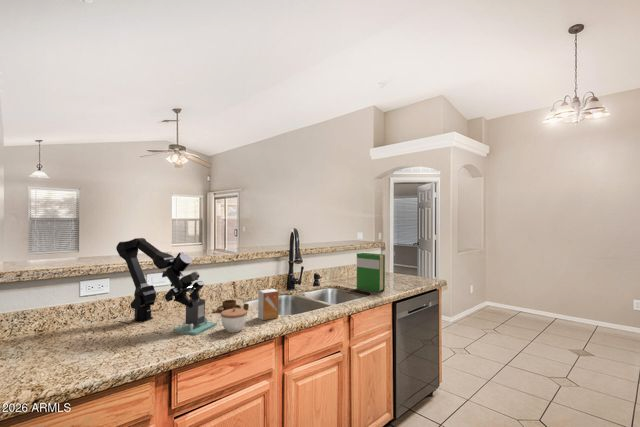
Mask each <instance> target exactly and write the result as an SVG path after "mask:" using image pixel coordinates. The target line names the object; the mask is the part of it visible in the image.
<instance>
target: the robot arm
mask: <svg viewBox="0 0 640 427" xmlns="http://www.w3.org/2000/svg"><path fill="white" fill-rule="evenodd" d="M115 248H116V251H117V254H118V255H119V257H120V258H121V259H123V260H124V261H125V263H126V266H127V268H128V270H129V273H130V276H131V279H132V281H133V285H134V287H135V290H134V293H133V296H134V299H133V300H132V301H131V303H130V304H129V306H130V308H131V309H133V310H134V317H133V319H131V322H138V323H144V322H147V321H149V320H152V319H154V317H153V316H152V309H151V306H154V305H155V301H156V299H157V294H156V293H157V291H156V289H155V286H154V285H152V284H151V285H150V284H148V282H147V280H146V277H145V275H144V272H143V269H142V267H141V264H140V261H139V259H138V254H139V251H141V252H142V253H143V254H145V255H146V256H147V257H149V258H150V259H151V260H152V263H153V264H154V266H155V267H156V268H157V269H158V270H163V271H162V275H161V278H166V277H167V279H168V280H169V282H170V283H171V284H170V287H172V288H170V289H169V290H168V291H167V292H166V294H165V295H164V299H165V300H166V302H171V301H173V302H177V303H179V304H182V305H184V306H185V307H186V306H188V307H190V308H192V307H193V306H192V304H191V302H190V299H193V298H198V299H201V298H200V293H199V292H200V290H201V289H202V288H203V287H204V286H205V285H206V284H205V283H204V282H203V280H199V278H200V274H199V272H198V271H196V270H195V271H192V272H191V273H189V274H184V275H183V272H184V271H185V270H186V269H187V268H188V267H189V266H190V264H191V263H192V262H193V259H192V257H191V256H189V255H188V254H185V253H184V252H179V253H178V254H177V255H176V256H175V257H174V256H173V255H172V254H170V253H168V252H163V251H161V250H160V249H158V248H157V247H155V246H154V245H152V244H151V243H150V242H148V241H147V239H146V238H144V237H137V238H133V239H130V240H127V241H119V242H118V244H117V245H116V246H115ZM165 269H166V270H165ZM198 280H199V281H198ZM187 293H189V295H188V296H187ZM188 297H189V298H190V299H189V298H188Z"/></svg>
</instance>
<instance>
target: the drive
mask: <svg viewBox="0 0 640 427" xmlns="http://www.w3.org/2000/svg"><path fill="white" fill-rule="evenodd" d="M189 300H190V302H191V304H192V306H193V307H192V308H190V307H188V306H186V305H185V323H186V324H189V325H190V324H193V325H195V326H197V325H199V324H202V323H204V322H205V316H206V299H205V298H200V299H198V298H193V299H192V298H190V299H189Z"/></svg>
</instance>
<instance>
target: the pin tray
mask: <svg viewBox="0 0 640 427" xmlns="http://www.w3.org/2000/svg"><path fill="white" fill-rule="evenodd" d="M208 320H209V319H208V317H205V322H204V323H202V324H199V325H197V326H195V325H193V324H190V325H189V324H186V321H185V322H184V321H183V322H182V323H181V325H179V326H177V327H175V328H173V329H172V332H174V333H180V334H181V333H182V334H187V335H193V336H198V335H199V334H202V333H204V332H206V331H208V330H211V329H212V328H214V327H216V326H217V322H211V321H208Z"/></svg>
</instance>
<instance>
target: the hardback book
mask: <svg viewBox="0 0 640 427" xmlns="http://www.w3.org/2000/svg"><path fill="white" fill-rule="evenodd" d="M385 282H386V255H385V254H381V253H380V254H379V253H370V252H359V253H356V289H358V290H363V291H368V292H375V293H381V291H383V292H385V290H386V283H385Z"/></svg>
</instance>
